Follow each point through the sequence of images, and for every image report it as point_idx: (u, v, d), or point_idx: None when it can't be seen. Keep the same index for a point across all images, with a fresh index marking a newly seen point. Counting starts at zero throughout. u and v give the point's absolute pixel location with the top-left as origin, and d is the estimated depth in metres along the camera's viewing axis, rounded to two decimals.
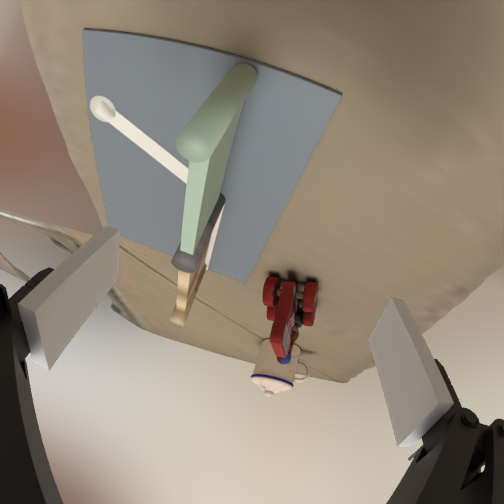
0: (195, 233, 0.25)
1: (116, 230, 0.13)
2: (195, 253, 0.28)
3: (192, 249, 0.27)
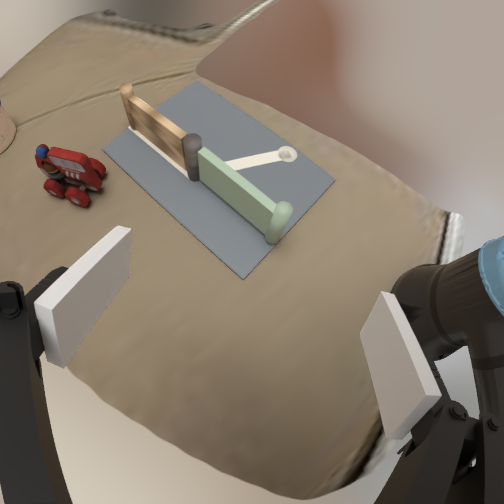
0: (217, 166, 0.39)
1: (128, 230, 0.14)
2: (194, 152, 0.40)
3: (203, 155, 0.39)
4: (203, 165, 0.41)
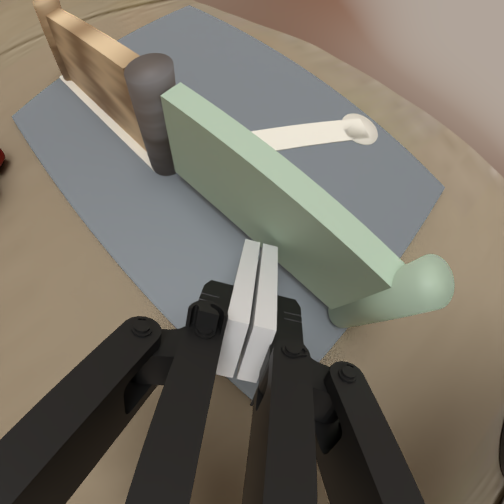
0: (214, 133, 0.12)
1: (258, 243, 0.16)
2: (151, 98, 0.13)
3: (175, 103, 0.13)
4: (178, 134, 0.15)
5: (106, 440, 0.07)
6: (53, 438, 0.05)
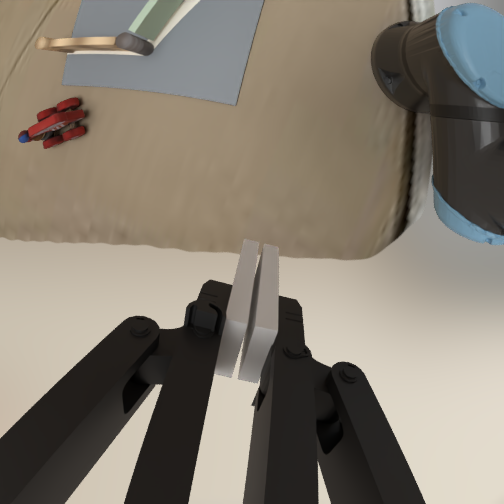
0: (148, 12, 0.31)
1: (257, 243, 0.16)
2: (131, 46, 0.34)
3: (137, 26, 0.32)
4: (144, 29, 0.34)
5: (105, 440, 0.07)
6: (52, 438, 0.05)
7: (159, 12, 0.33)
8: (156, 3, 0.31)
